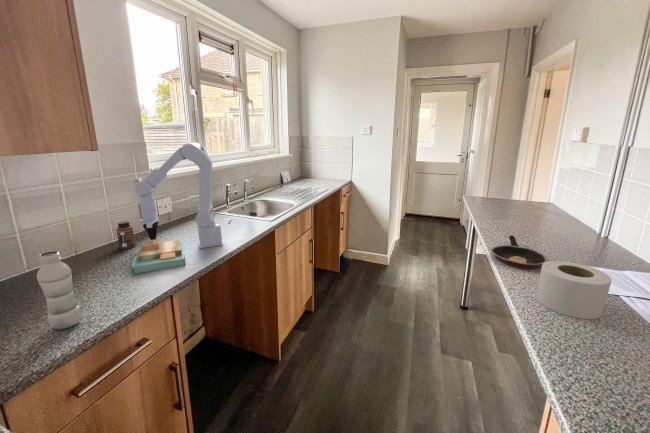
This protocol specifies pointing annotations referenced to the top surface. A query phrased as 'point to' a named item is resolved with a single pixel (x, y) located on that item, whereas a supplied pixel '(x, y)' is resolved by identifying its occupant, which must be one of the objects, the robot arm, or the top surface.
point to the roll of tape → (573, 289)
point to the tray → (157, 264)
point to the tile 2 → (168, 256)
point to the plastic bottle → (58, 291)
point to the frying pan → (518, 255)
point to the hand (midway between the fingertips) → (153, 239)
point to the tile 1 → (152, 245)
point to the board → (160, 250)
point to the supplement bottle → (125, 235)
